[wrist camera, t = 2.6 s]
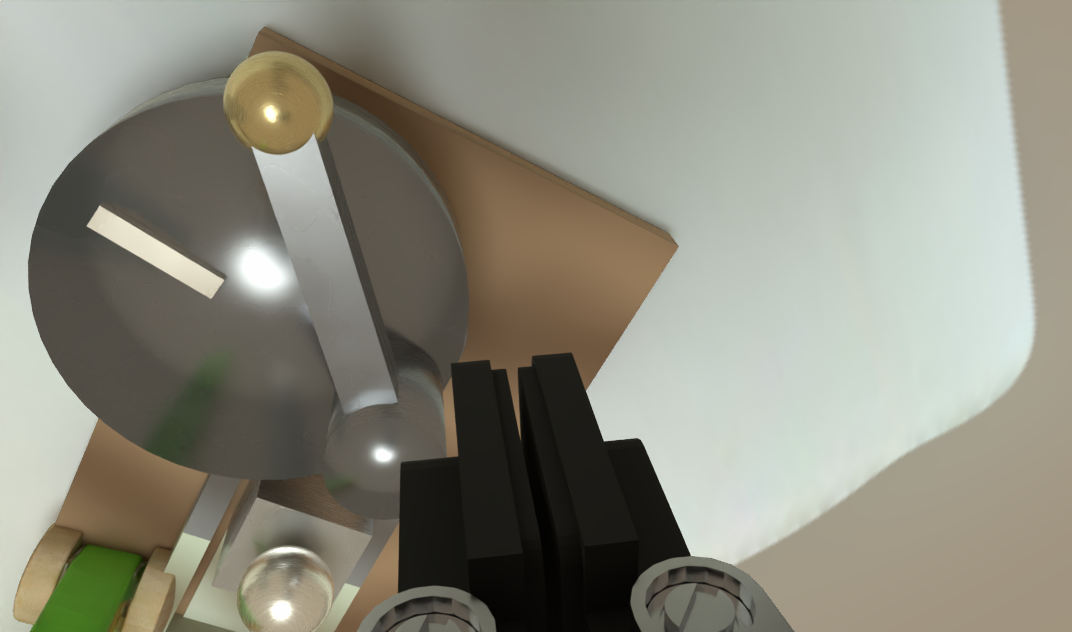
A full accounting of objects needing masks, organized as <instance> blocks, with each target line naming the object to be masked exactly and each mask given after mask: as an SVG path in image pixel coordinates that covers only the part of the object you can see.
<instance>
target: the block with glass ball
mask: <svg viewBox="0 0 1072 632" xmlns="http://www.w3.org/2000/svg"><path fill="white" fill-rule="evenodd" d="M372 536H373V519H371V518H366V517H362V516H359V515H357V514H354V513H352V512H350V511H348V510H347V509H345V508H344V507H342V506H341V505H340V504H339V503H338V502H337V501H336V500H335V499H334V498H333V497H332V496H331V494H330V493H329V491H328V489H327V487H326V485H325V482H324V477H323V473H322V474H317V475H313V476H308V477H302V478H292V479H283V480H250V481H249V483H248V485H247V487H246V489H245V491H244V493H243V495H242V497H241V499H240V501H239V503H238V505H237V507H236V509H235V511H234V512H233V514H232V516H231V518H230V522H229V526H228V529H227V533H226V536H225V540H224V543H223V547H222V550H221V554H220V557H219V561H218V564H217V568H216V572H215V575H214V579H213V582H212V586H213V587H216V588H219V589H223V590H226V591H230V592H233V593H236V594H237V608H238V612H239V615H240V617H241V619H242V621H243V623H244V625H245V626H246V627H247V628H248V630H249V631H250V632H315V631H316V630H317V629H318V628H319V627H320V626H321V625H322V623H323V622H324V621H325V619H326V618H327V616H328V614H329V612H330V610H331V607H332V605H333V603H334V601H335V600H336V598H337V596H338V595H339V593H340V591H341V589H342V588H343V586H344V584H345V583H346V581H347V579H348V577H349V576H350V574H351V572H352V571H353V569H354V567H355V565H356V564H357V562H358V560H359V559H360V557H361V555H362V553H363V552H364V550H365V548H366V546H367V545H368V543H369V541H370V540H371V538H372Z"/></svg>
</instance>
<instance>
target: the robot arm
mask: <svg viewBox="0 0 1072 632" xmlns="http://www.w3.org/2000/svg"><path fill="white" fill-rule="evenodd" d="M450 364H451V376H452V388H453V399H454V411H455V423H456V435H457V447H458V456H456V457H446V458H436V459H426V460H416V461H406V462H401V466H400V508H399V560H398V594H395V595H393V596H391V597H390V598H388V599H386V600H385V601H383V602H382V603H380V604H378V605H377V606H375V607H374V609H373V610H372V611H371V612H370V613H369V614H368V615H367V616H366V617H365V618H364V619H363V620H362V622H361V624H360V626H359V628H358V630H357V632H794V630H793V629H792V628H791V626H790V625H789V624H788V622H787V621H786V619H785V618H784V617H783V615H782V614H781V613H780V612H779V610H778V609H777V607H776V606H775V605H774V603H773V602H772V600H771V599H770V598H769V596H768V595H767V594H766V592H765V591H764V590H763V588H762V587H761V586H760V585H759V584H758V583H757V582H756V581H755V580H754V579H753V578H752V577H751V576H750V575H749V574H747V573H745V572H743V571H742V570H740V569H738V568H737V567H735V566H733V565H732V564H728V563H725V562H722V561H719V560H716V559H713V558H705V557H695V556H691V555H690V552H689V550H688V548H687V545H686V543H685V541H684V538H683V536H682V534H681V531H680V529H679V527H678V524H677V522H676V520H675V517H674V515H673V513H672V510H671V508H670V506H669V503H668V501H667V499H666V496H665V494H664V492H663V489H662V487H661V485H660V482H659V480H658V478H657V475H656V473H655V471H654V468H653V466H652V464H651V461H650V459H649V457H648V454H647V452H646V449H645V447H644V445H643V443H642V442H641V440H640V439H638V438H635V439H625V440H615V441H605V442H604V441H603V438H602V435H601V432H600V429H599V427H598V424H597V421H596V418H595V415H594V413H593V410H592V407H591V404H590V401H589V399H588V396H587V393H586V390H585V387H584V385H583V382H582V379H581V376H580V373H579V371H578V368H577V365H576V362H575V359H574V357H573V354H572V353H571V352H569V353H558V354H547V355H536V356H532V364H531V365H532V366H528V367H518V393H519V414H520V435H521V440H520V435H519V430H518V425H517V420H516V415H515V410H514V405H513V400H512V395H511V390H510V385H509V381H508V376H507V371H506V369H495V370H491V365H490V360H480V361H469V362H458V363H450Z"/></svg>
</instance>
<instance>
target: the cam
mask: <svg viewBox="0 0 1072 632" xmlns="http://www.w3.org/2000/svg"><path fill="white" fill-rule="evenodd" d="M28 280H29V293H30V299H31V305H32V311H33V315H34V319H35V322H36V325H37V328H38V331H39V334H40V337H41V340H42V342H43V344H44V346H45V348H46V350H47V352H48V354H49V356H50V358H51V360H52V362H53V364H54V365H55V367H56V368H57V370H58V371H59V373H60V374H61V376H62V377H63V379H64V380H65V382H66V383H67V385H68V386H69V387H70V389H71V390H72V391H73V392H74V393H75V394H76V395H77V397H78V398H79V399H80V400H81V401H82V402H83V404H84V405H85V406H86V407H87V408H88V409H90V410H91V411H92V412H93V413H94V414H95V415H96V416H97V417H98V418H99V419H100V420H102V421H103V422H104V423H105V424H106V425H108V426H109V427H110V428H112V429H113V430H114V431H116V432H117V433H119V434H120V435H121V436H123V437H124V438H126V439H127V440H129V441H130V442H132V443H134V444H136V445H137V446H139V447H141V448H143V449H144V450H146V451H148V452H150V453H152V454H154V455H156V456H159V457H161V458H163V459H166V460H168V461H170V462H172V463H175V464H178V465H181V466H184V467H187V468H190V469H193V470H197V471H200V472H204V473H209V474H214V475H218V476H223V477H229V478H239V479H249V480H283V479H292V478H302V477H308V476H313V475H317V474H322V473H323V477H324V482H325V485H326V487H327V489H328V491H329V493H330V494H331V496H332V497H333V498H334V499H335V500H336V501H337V502H338V503H339V504H340V505H341V506H342V507H344V508H345V509H347V510H348V511H350V512H352V513H354V514H357V515H359V516H362V517H366V518H371V519H378V520H390V519H398V518H399V508H400V466H401V462H406V461H416V460H426V459H436V458H446V457H447V447H446V432H445V416H444V401H443V391H444V389H445V387H446V385H447V384H448V382H449V380H450V378H451V364H450V363H458V360H459V357H460V355H461V352H462V349H463V345H464V340H465V336H466V331H467V327H468V313H469V292H468V279H467V271H466V265H465V258H464V251H463V245H462V241H461V236H460V232H459V227H458V223H457V220H456V218H455V215H454V212H453V210H452V207H451V204H450V202H449V200H448V198H447V196H446V194H445V192H444V190H443V188H442V186H441V185H440V183H439V181H438V179H437V178H436V176H435V175H434V173H433V172H432V171H431V169H430V168H429V166H428V165H427V164H426V162H425V161H424V159H423V158H422V157H421V156H420V155H419V154H418V153H417V152H416V151H415V149H414V148H413V147H412V146H411V145H410V144H409V143H408V142H407V141H406V140H405V139H404V138H403V137H402V136H401V135H399V134H398V133H397V132H396V131H395V130H393V129H392V128H391V127H390V126H389V125H387V124H386V123H385V122H384V121H383V120H381V119H379V118H378V117H376V116H375V115H373V114H372V113H370V112H368V111H367V110H365V109H364V108H362V107H361V106H359V105H357V104H355V103H353V102H351V101H348V100H346V99H344V98H342V97H340V96H338V95H336V94H334V93H331V91H330V88H329V86H328V84H327V82H326V80H325V79H324V77H323V76H322V75H321V73H320V72H319V71H318V70H317V69H316V68H315V67H314V66H313V65H312V64H310V63H309V62H308V61H306V60H304V59H303V58H301V57H299V56H297V55H294V54H291V53H286V52H280V51H268V52H263V53H259V54H256V55H253V56H251V57H250V58H248V59H246V60H245V61H243V62H242V63H241V64H239V65H238V66H237V67H236V68H235V70H234V71H233V72H232V74H231V76H230V77H228V78H216V79H211V80H206V81H201V82H196V83H191V84H188V85H185V86H182V87H179V88H176V89H173V90H170V91H167V92H164V93H162V94H160V95H158V96H156V97H154V98H152V99H151V100H149V101H147V102H145V103H143V104H141V105H139V106H138V107H136V108H135V109H133V110H132V111H131V112H129V113H128V114H126V115H125V116H124V117H122V118H121V119H119V120H118V121H117V122H115V123H114V124H113V125H112V126H111V127H109V128H108V129H107V130H106V131H104V132H103V133H102V134H101V135H99V136H98V137H97V138H96V139H94V140H93V141H92V142H91V143H90V144H89V145H87V146H86V147H85V148H84V149H83V150H82V151H81V152H80V153H79V154H78V155H77V156H76V157H75V158H74V159H73V160H72V161H71V162H70V163H69V164H68V166H67V167H66V168H65V170H64V171H63V172H62V174H61V175H60V176H59V178H58V179H57V181H56V182H55V183H54V185H53V186H52V188H51V190H50V192H49V194H48V196H47V198H46V200H45V202H44V204H43V206H42V208H41V209H40V212H39V215H38V219H37V222H36V225H35V228H34V231H33V234H32V239H31V246H30V253H29V260H28Z"/></svg>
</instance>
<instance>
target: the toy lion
mask: <svg viewBox="0 0 1072 632" xmlns="http://www.w3.org/2000/svg"><path fill="white" fill-rule="evenodd" d="M82 537H83V532H81V531H77V530H73V529H68V528H64V527H59V526H55V523H54V524H53V525H52V526H51V527H50V528H49V529H48V531H47V532H46V533H45V535H44V536H43V538H42V539H41V540H40V542H39V544H38V545H37V547H36V548H35V550H34V552H33V554H32V555H31V557H30V559H29V561H28V564H27V566H26V568H25V570H24V573H23V575H22V577H21V580H20V583H19V586H18V589H17V593H16V596H15V601H14V609H13V613H14V618H15V619H16V620H18V621H20V622H24V623H28V624H32V625H34V626H33V627H32V629H31V631H30V632H163V631H164V629H165V627H166V624H167V622H168V620H169V617H170V614H171V611H172V608H173V604H174V598H175V587H176V581H175V575H173V574H170V573H164V570H165V567H166V565H167V562H168V559H169V556H170V553H171V550H169V549H165V548H160V547H157V548H156V549H155V550H154V552H153V554H152V556H151V558H150V560H149V562H148V563H147V562H145V561H144V560H143V558H142V557H141V556H140V555H136V554H132V553H128V552H123V551H118V550H113V549H108V548H104V547H99V546H95V545H90V544H88V545H84V546H83V545H82V544H81V541H82Z"/></svg>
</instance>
